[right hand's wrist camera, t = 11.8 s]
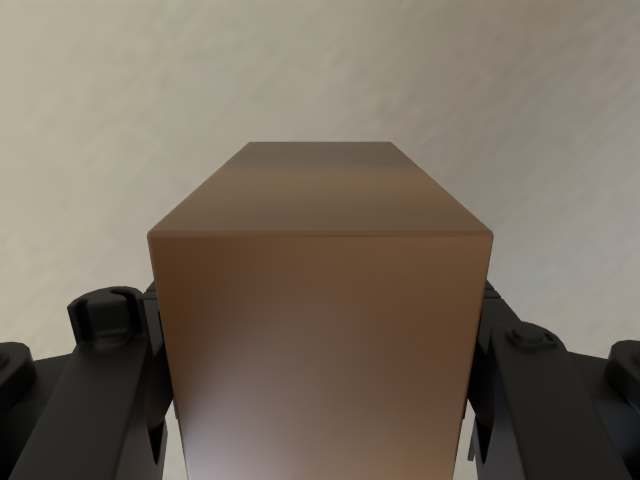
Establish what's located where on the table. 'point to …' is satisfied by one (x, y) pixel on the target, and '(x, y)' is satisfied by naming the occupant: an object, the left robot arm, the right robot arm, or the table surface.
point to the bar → (320, 315)
